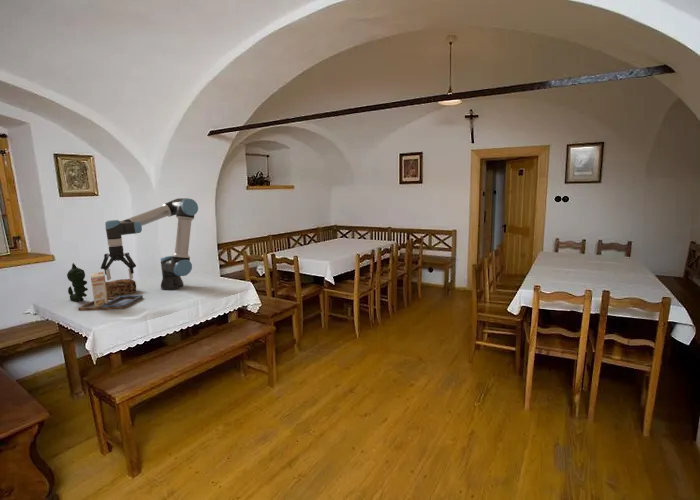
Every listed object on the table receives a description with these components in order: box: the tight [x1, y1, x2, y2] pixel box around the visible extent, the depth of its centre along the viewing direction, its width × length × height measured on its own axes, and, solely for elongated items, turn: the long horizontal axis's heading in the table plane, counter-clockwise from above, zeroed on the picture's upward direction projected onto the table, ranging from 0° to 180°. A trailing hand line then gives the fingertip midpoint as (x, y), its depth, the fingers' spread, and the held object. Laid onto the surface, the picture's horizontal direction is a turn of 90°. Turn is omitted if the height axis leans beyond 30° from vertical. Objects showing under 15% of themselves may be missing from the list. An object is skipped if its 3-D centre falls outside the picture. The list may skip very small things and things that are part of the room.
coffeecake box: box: [90, 271, 109, 307], centre depth 237 cm, size 15×7×20 cm, turn 32°
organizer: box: [77, 294, 144, 311], centre depth 238 cm, size 27×22×2 cm
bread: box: [105, 278, 137, 297], centre depth 262 cm, size 19×11×10 cm, turn 136°
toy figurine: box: [66, 262, 89, 303], centre depth 247 cm, size 9×19×25 cm, turn 59°
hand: (120, 279), depth 237 cm, fingers open, 13 cm apart
